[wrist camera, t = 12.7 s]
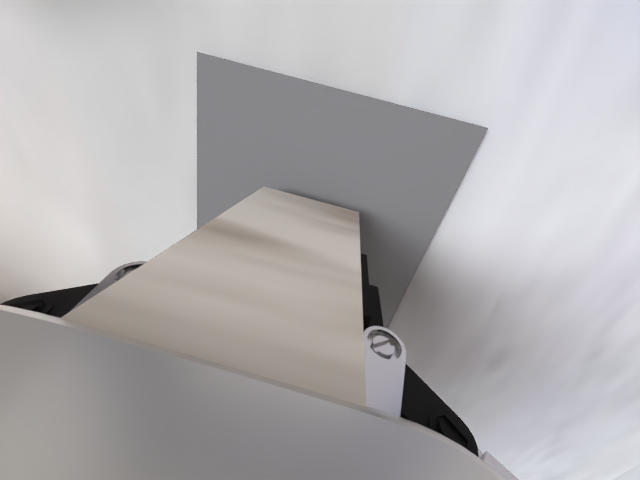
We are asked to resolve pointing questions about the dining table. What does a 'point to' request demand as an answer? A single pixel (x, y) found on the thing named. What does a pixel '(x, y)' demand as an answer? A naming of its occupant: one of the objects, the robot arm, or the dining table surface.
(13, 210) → the dining table surface
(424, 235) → the grey pad
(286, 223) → the cream blank
